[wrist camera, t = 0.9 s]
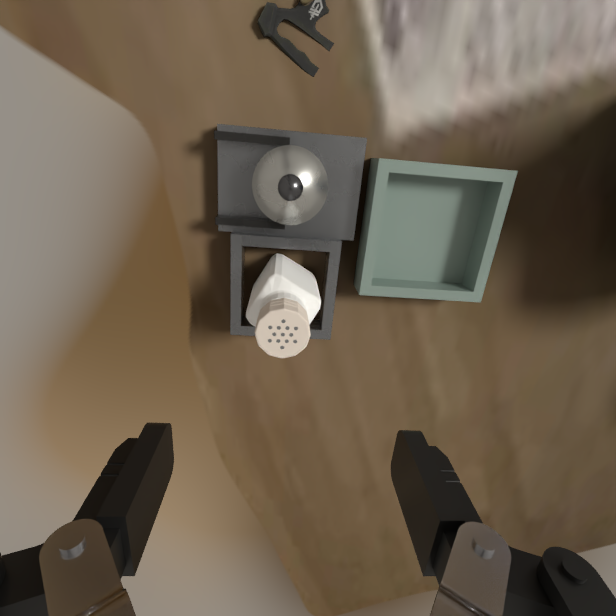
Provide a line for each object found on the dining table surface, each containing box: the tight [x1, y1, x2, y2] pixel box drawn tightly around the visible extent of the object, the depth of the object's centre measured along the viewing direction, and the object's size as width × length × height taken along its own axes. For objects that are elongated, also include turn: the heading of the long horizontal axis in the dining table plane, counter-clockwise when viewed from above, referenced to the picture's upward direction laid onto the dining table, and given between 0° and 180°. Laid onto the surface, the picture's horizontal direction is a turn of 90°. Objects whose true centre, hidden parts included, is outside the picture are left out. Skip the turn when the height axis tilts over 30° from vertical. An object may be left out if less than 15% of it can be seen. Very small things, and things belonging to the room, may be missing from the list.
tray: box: [354, 158, 518, 302], centre depth 27 cm, size 10×10×3 cm
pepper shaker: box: [246, 253, 321, 358], centre depth 25 cm, size 4×4×10 cm
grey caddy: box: [214, 124, 367, 340], centre depth 26 cm, size 15×10×4 cm, turn 175°
